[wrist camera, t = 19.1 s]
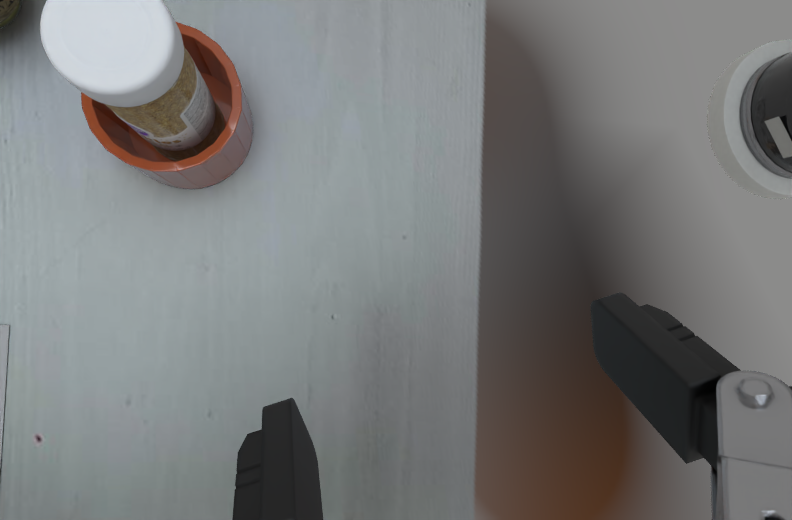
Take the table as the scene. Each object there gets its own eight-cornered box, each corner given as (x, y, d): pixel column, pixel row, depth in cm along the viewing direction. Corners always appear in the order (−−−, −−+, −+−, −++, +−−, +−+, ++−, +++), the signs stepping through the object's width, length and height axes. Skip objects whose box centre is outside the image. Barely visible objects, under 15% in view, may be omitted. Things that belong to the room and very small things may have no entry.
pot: (228, 50, 33) (211, 3, 27) (270, 167, 34) (262, 144, 28) (103, 85, 32) (57, 43, 26) (148, 205, 32) (112, 191, 26)
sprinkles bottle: (137, 149, 32) (14, 63, 19) (162, 78, 32) (60, -57, 19) (213, 175, 32) (148, 110, 19) (238, 105, 33) (190, -7, 20)
